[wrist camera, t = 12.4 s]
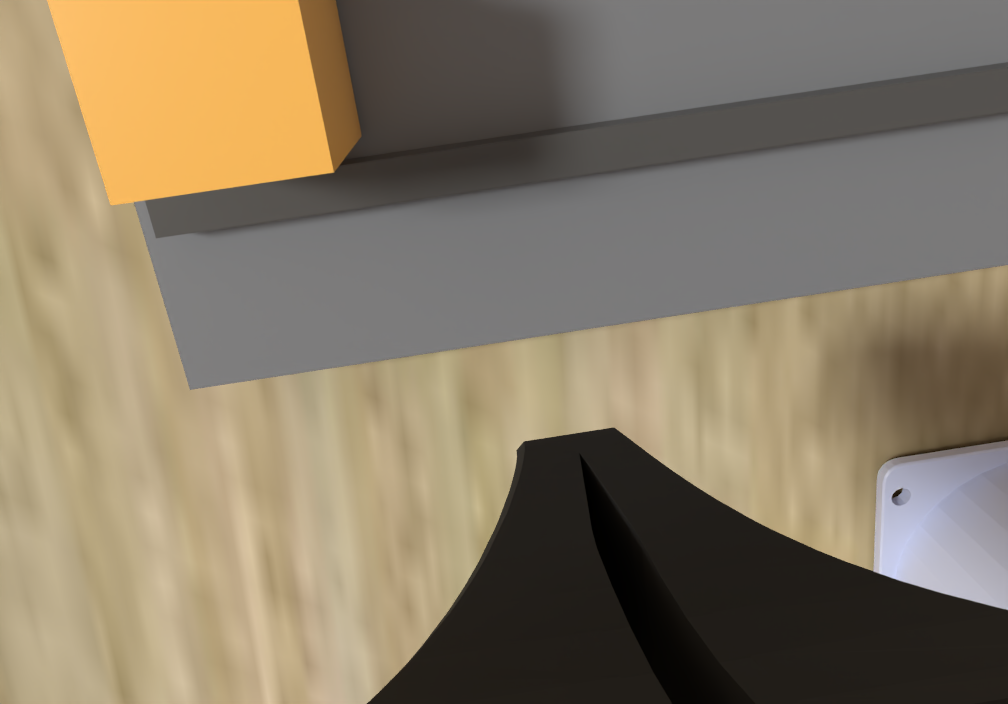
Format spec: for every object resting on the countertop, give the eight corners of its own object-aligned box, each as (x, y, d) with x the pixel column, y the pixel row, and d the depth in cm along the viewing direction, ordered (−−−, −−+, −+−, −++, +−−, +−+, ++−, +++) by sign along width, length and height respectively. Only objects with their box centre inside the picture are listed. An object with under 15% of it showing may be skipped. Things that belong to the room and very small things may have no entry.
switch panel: (960, 228, 20) (1072, 268, 17) (225, 339, 20) (179, 406, 16) (1003, -386, 16) (1167, -509, 12) (60, -260, 15) (-54, -348, 12)
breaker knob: (362, 135, 15) (333, 172, 11) (199, 159, 15) (111, 205, 11) (327, -44, 14) (282, -75, 10) (152, -18, 14) (34, -41, 10)
